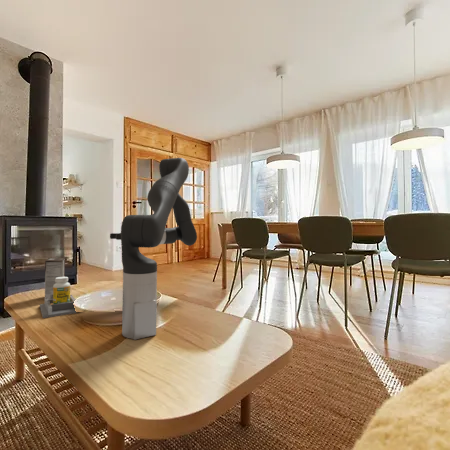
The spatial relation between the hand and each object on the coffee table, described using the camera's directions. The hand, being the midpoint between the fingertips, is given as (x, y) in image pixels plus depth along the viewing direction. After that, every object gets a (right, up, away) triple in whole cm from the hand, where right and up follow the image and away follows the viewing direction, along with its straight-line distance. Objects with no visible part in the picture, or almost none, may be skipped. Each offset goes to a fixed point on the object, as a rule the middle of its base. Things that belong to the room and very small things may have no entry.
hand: (113, 236), depth 109 cm
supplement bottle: (-15, -24, -9) cm, 30 cm away
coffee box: (-27, -26, +7) cm, 38 cm away
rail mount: (-15, -26, -9) cm, 31 cm away
